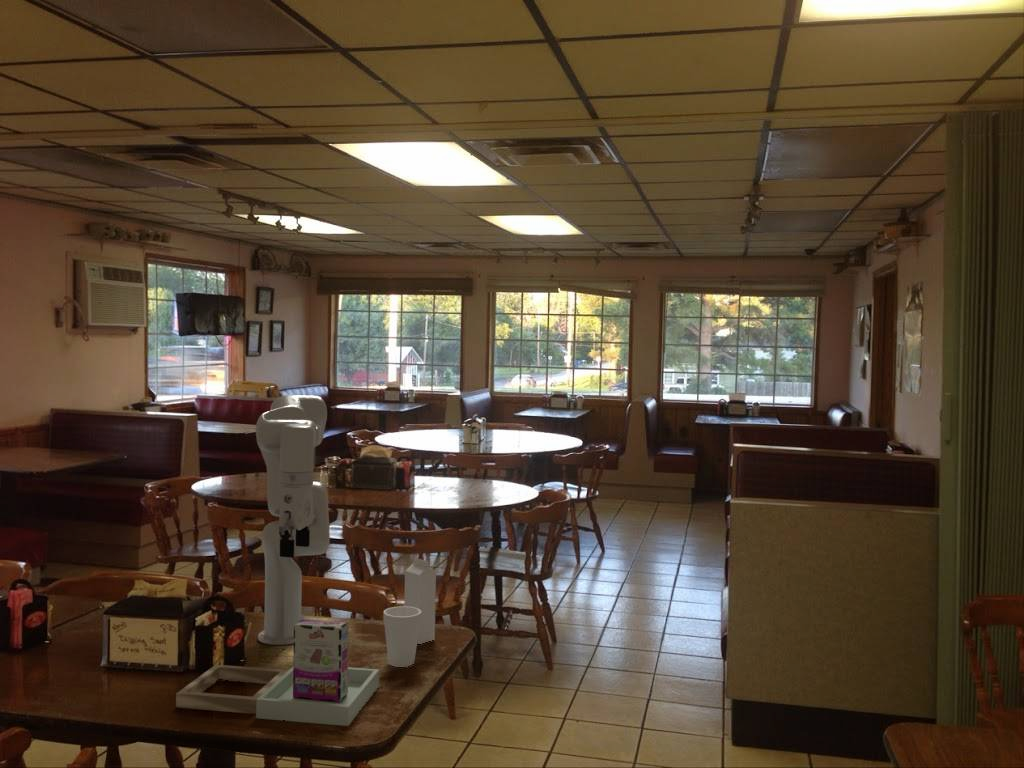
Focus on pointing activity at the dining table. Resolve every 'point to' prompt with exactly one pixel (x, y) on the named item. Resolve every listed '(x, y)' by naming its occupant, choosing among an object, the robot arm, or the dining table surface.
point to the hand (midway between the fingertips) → (294, 551)
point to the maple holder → (221, 702)
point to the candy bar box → (320, 660)
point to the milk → (422, 596)
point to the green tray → (285, 707)
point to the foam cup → (401, 634)
